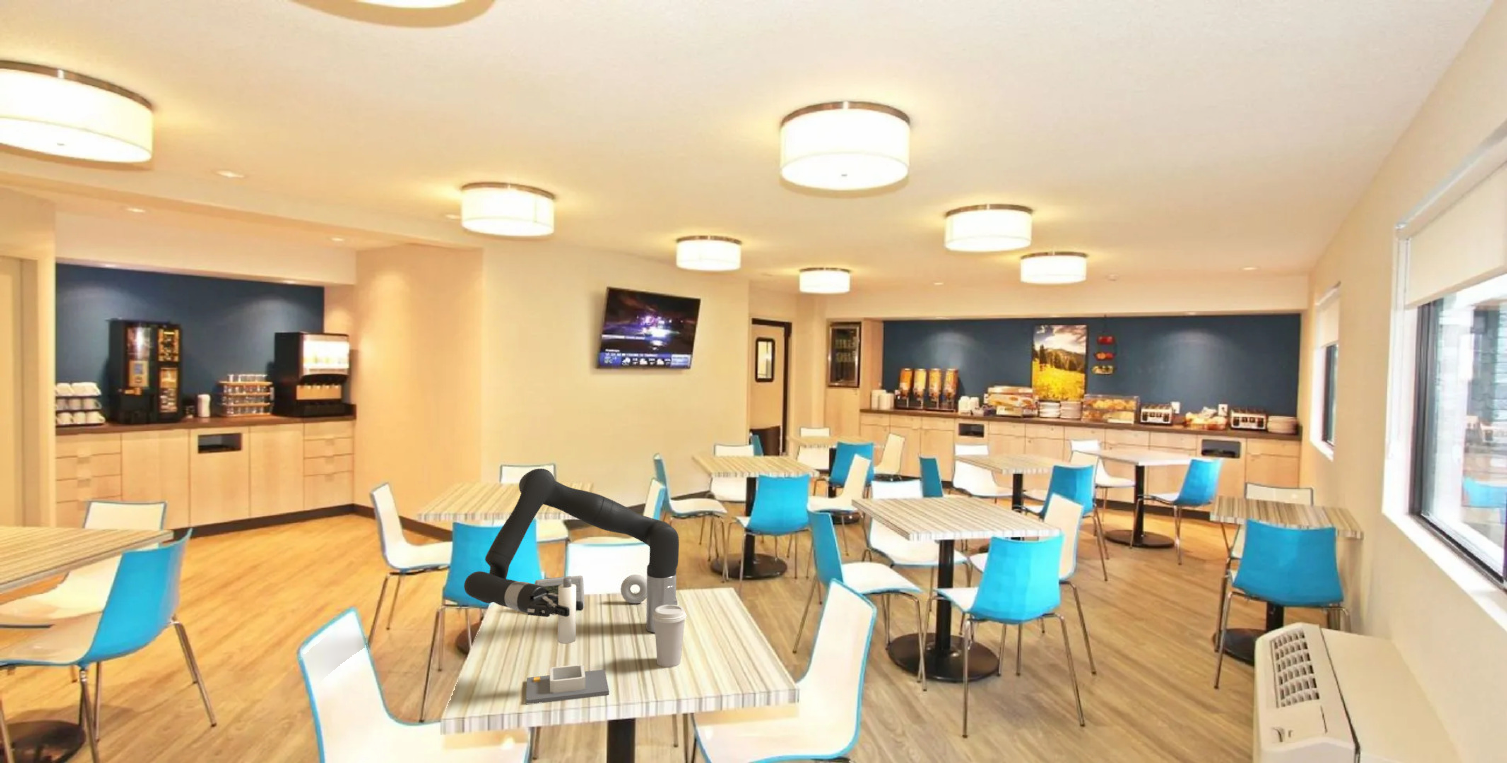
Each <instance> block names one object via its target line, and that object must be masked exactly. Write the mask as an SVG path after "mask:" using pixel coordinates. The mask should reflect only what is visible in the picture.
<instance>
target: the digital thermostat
mask: <svg viewBox="0 0 1507 763" xmlns="http://www.w3.org/2000/svg"><path fill="white" fill-rule="evenodd" d="M564 578H571V584H575V585H576V600H577V601H581V602H583V609H584V608H585V589H584V586H585V585H584V577H583V575H572V576H570V575H569V576H558V577H548V578H544V579H536V580H535V582H534V584H536V585H540V586H544V587H545V588H546V589H547V590H548V592H549V593H555V594H557V595H558V587H559V586H560V585H562V584H563V579H564ZM543 613H544V612H543Z"/></svg>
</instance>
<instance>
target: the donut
mask: <svg viewBox="0 0 1507 763" xmlns="http://www.w3.org/2000/svg"><path fill="white" fill-rule="evenodd" d="M635 585H636V586H638V587H639V591H638V592H637V593H633V592H632V590H631V588H632V586H635ZM620 593H621V594H620V595H621V597H622V598H623V599H624V600H625V601H626V602H628V603H630V604H635V605H636V604H640V603H641V602H643V601H645V600H647V578H645V577H644V576H642V575H640V574H632V575H629V576H627V577H626V578H624V580H623V581H622V583H621V586H620Z"/></svg>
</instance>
